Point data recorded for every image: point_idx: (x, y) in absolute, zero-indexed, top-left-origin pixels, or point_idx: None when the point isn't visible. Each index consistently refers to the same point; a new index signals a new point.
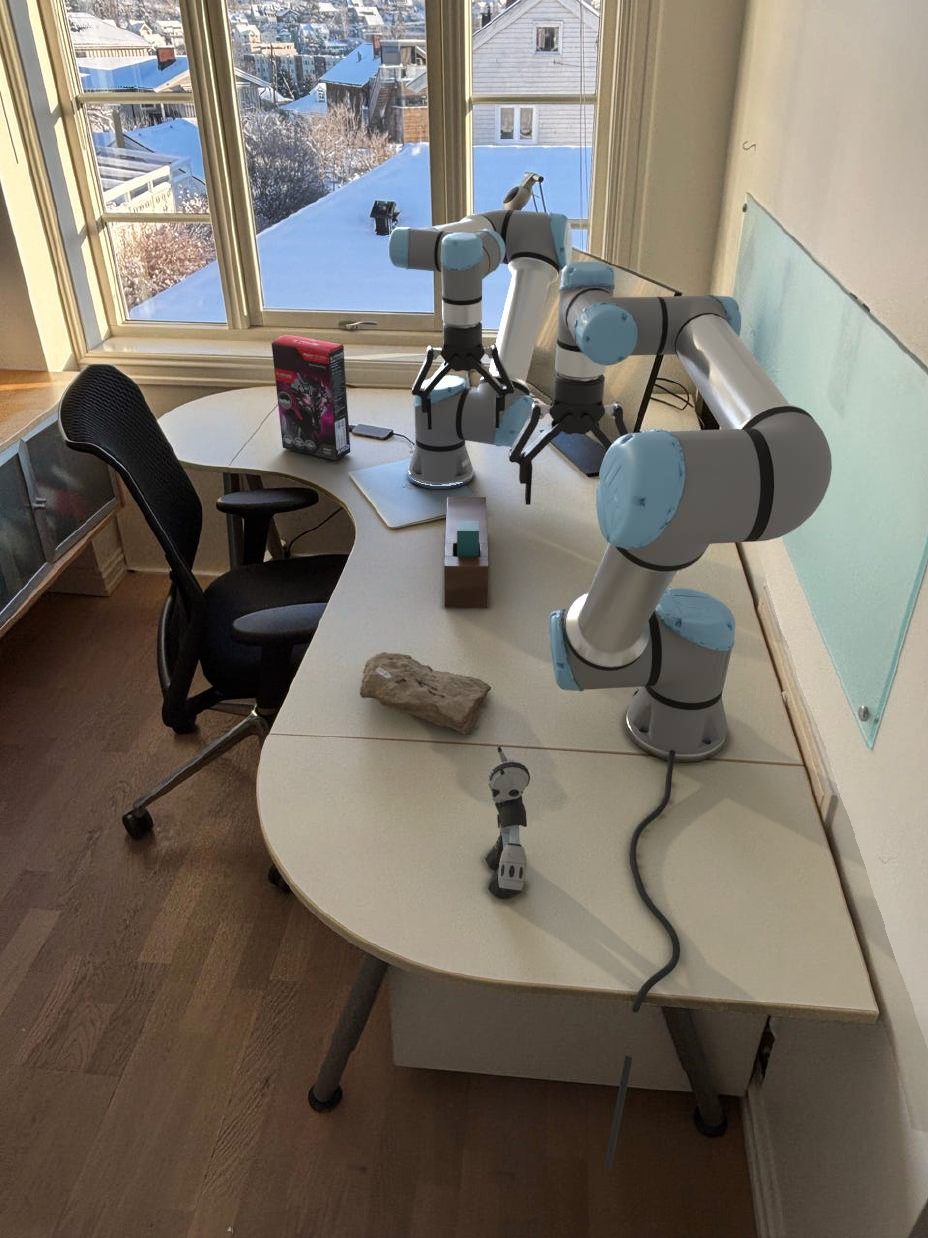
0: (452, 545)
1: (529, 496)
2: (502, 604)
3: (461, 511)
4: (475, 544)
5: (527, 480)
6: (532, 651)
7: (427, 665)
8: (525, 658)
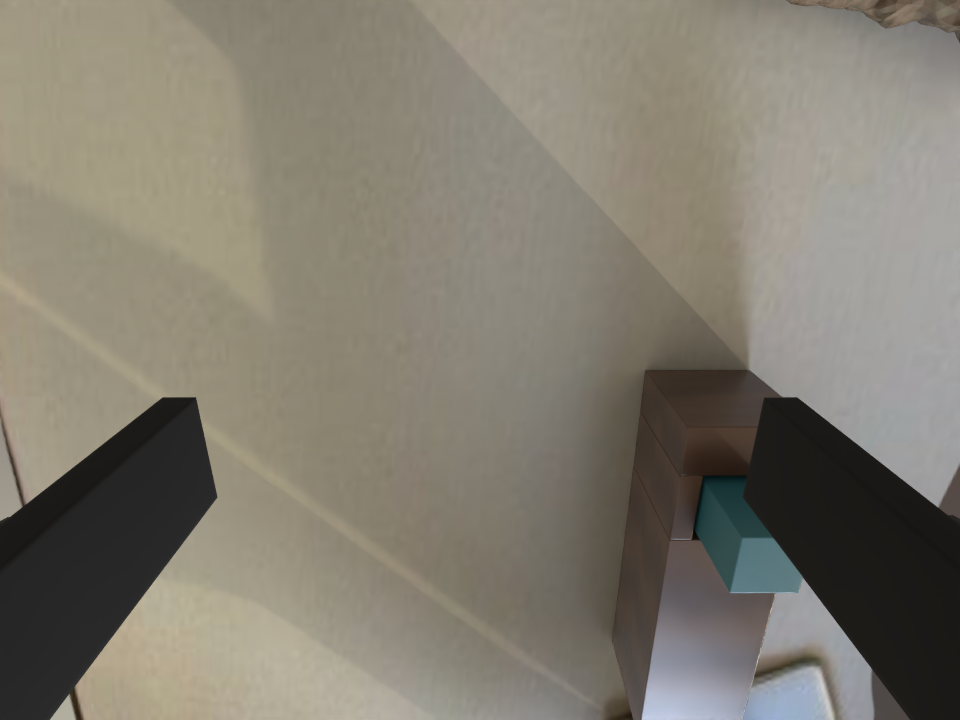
0: None
1: (811, 427)
2: (606, 385)
3: (714, 679)
4: (730, 505)
5: (944, 517)
6: (553, 182)
7: (898, 10)
8: (575, 148)
